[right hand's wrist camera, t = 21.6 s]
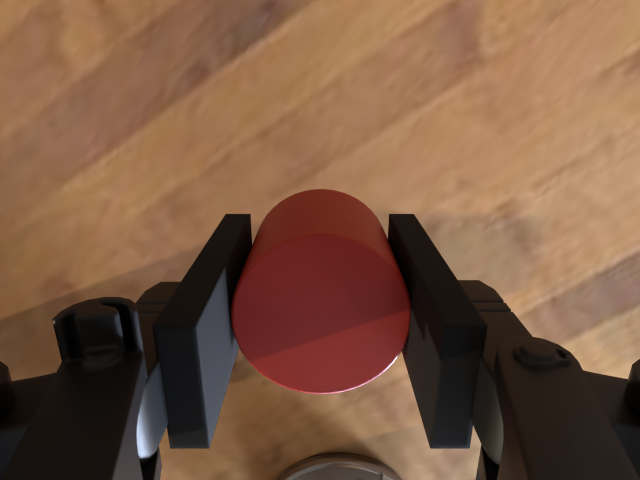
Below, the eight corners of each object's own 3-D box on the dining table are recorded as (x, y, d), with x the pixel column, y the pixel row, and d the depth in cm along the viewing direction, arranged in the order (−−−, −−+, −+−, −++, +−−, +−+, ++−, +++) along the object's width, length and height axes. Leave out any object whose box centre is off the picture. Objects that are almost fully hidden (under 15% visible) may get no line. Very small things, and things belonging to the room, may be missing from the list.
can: (310, 160, 14) (307, 196, 10) (414, 244, 14) (450, 309, 10) (228, 262, 15) (194, 331, 11) (330, 333, 16) (333, 423, 12)
